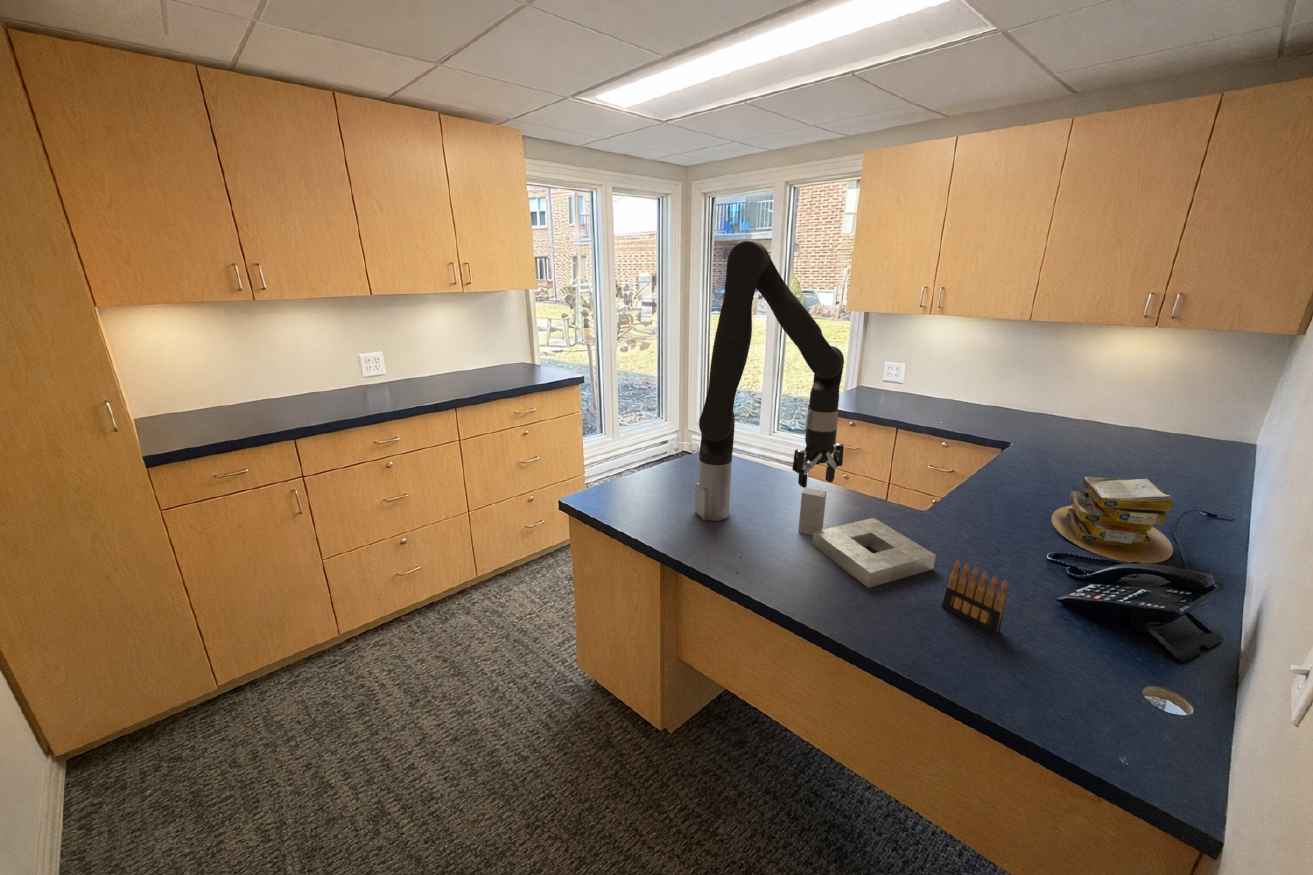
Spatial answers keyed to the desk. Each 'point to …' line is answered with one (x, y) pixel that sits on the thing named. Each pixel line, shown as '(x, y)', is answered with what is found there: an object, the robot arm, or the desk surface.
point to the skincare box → (812, 511)
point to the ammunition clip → (975, 598)
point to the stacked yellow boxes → (1117, 519)
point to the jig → (868, 568)
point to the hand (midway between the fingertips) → (816, 483)
